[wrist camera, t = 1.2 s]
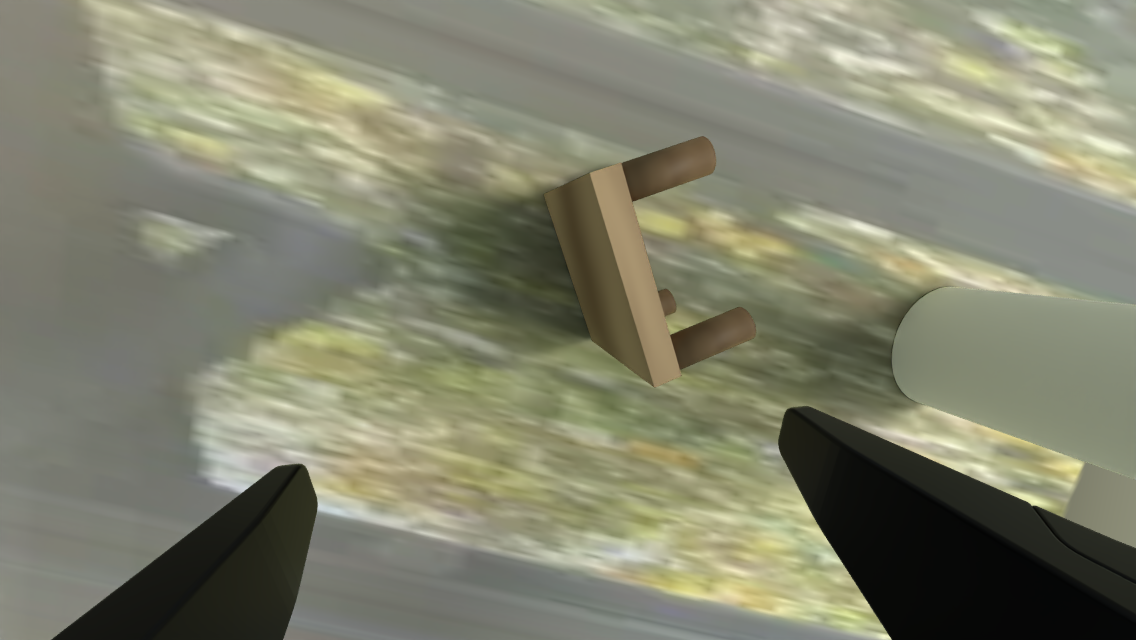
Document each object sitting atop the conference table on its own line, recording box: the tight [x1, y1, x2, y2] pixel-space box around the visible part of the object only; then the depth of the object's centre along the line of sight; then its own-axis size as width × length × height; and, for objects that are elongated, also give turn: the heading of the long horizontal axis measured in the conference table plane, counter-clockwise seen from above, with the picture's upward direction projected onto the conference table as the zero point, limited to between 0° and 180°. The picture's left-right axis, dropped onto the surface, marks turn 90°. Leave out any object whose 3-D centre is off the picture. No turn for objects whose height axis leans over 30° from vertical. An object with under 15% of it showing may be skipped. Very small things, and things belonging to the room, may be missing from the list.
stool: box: [544, 136, 756, 388], centre depth 18 cm, size 7×7×4 cm
